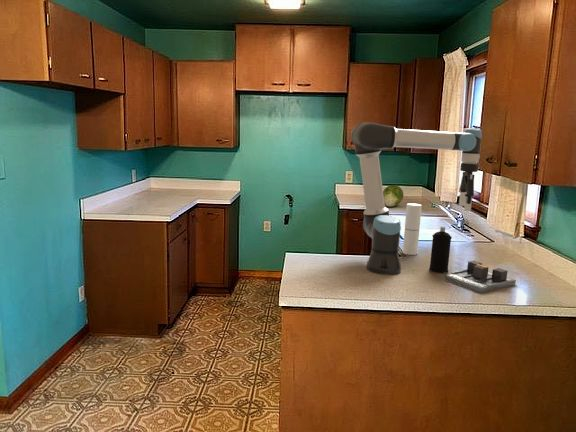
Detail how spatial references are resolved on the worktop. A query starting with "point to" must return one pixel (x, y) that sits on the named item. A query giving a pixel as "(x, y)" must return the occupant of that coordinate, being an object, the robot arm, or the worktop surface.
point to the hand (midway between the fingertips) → (464, 208)
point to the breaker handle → (480, 271)
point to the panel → (481, 285)
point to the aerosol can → (440, 251)
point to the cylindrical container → (412, 228)
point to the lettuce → (392, 195)
